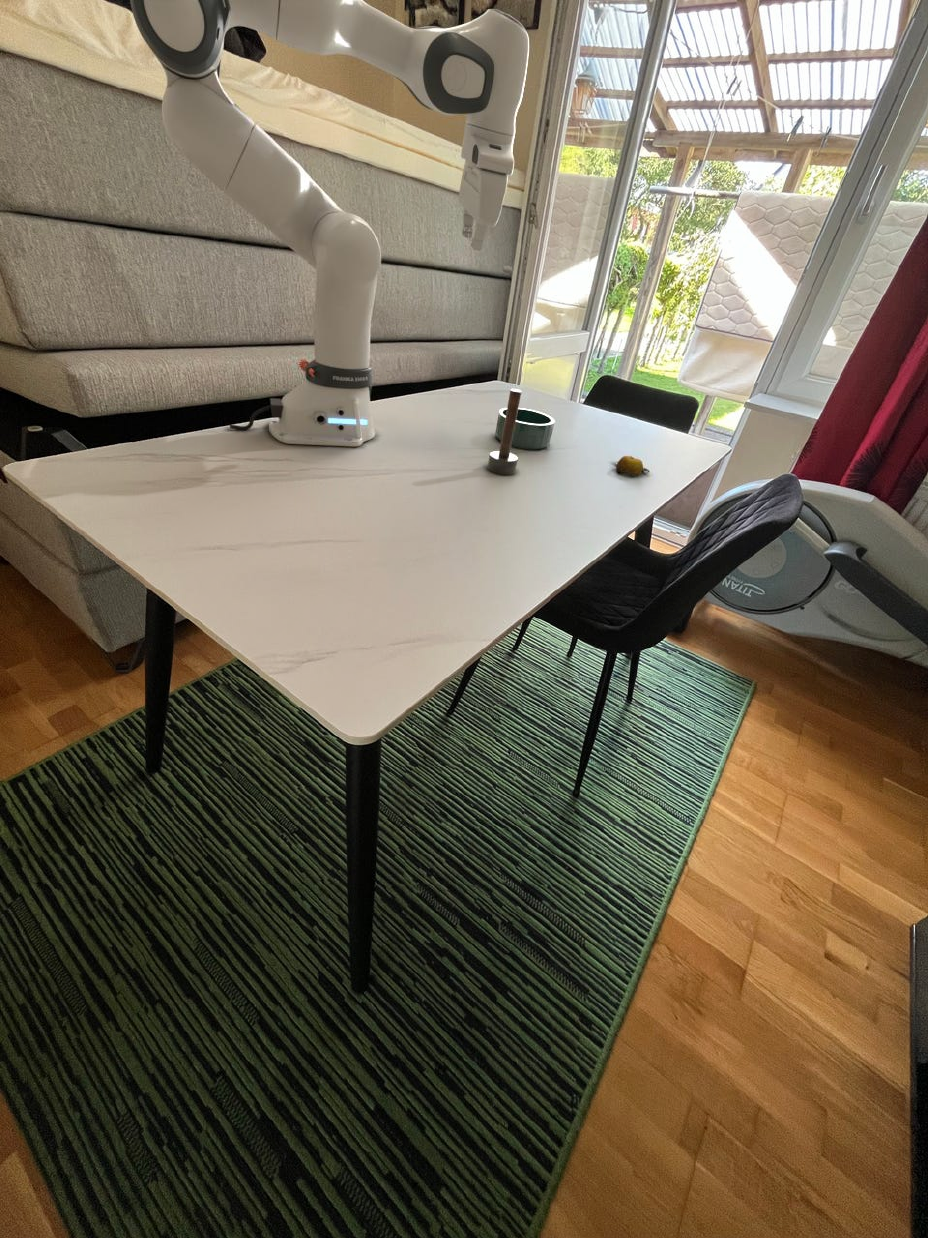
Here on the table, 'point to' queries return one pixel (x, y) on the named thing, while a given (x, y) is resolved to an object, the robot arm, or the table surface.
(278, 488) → the table surface
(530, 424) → the bowl
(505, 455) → the ring toss peg
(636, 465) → the fruit
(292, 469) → the table surface
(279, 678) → the table surface
